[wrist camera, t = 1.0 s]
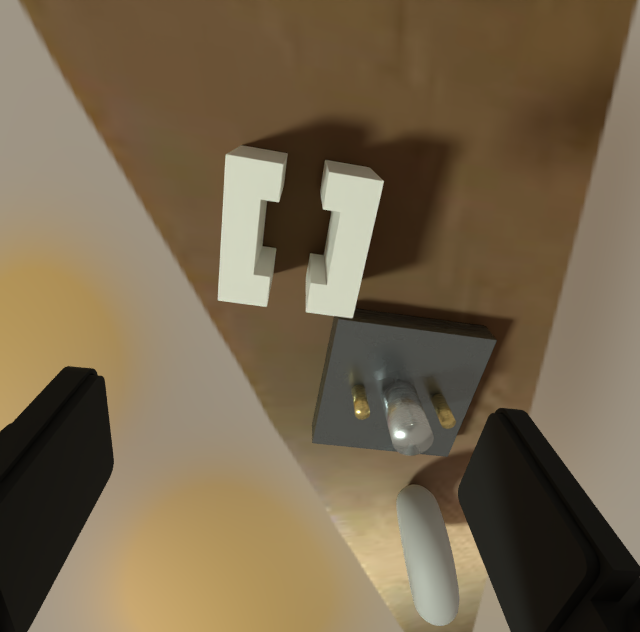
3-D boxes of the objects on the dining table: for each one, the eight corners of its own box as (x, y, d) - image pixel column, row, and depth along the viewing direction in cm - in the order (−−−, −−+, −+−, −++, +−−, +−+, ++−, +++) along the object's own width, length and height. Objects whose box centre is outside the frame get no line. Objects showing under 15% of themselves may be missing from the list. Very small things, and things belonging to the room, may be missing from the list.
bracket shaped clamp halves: (241, 145, 23) (225, 154, 19) (369, 167, 24) (383, 181, 20) (232, 268, 27) (217, 300, 22) (345, 284, 27) (352, 318, 23)
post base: (336, 305, 28) (344, 357, 22) (485, 326, 29) (529, 380, 24) (312, 424, 33) (313, 492, 27) (440, 438, 34) (467, 505, 28)
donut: (387, 462, 35) (414, 581, 27) (426, 456, 35) (467, 574, 26) (397, 533, 40) (423, 655, 31) (432, 528, 40) (468, 649, 31)
